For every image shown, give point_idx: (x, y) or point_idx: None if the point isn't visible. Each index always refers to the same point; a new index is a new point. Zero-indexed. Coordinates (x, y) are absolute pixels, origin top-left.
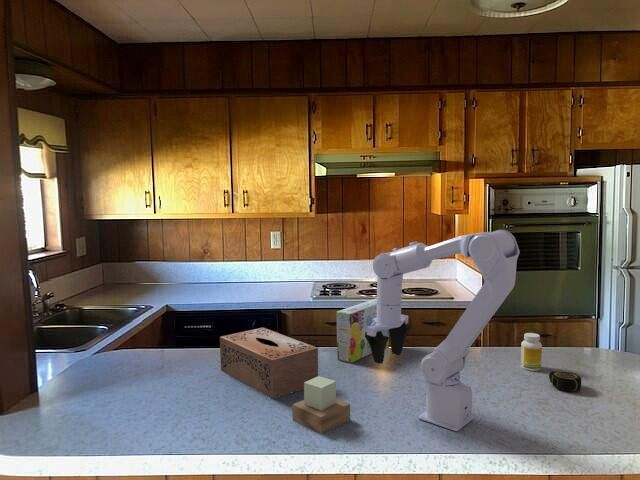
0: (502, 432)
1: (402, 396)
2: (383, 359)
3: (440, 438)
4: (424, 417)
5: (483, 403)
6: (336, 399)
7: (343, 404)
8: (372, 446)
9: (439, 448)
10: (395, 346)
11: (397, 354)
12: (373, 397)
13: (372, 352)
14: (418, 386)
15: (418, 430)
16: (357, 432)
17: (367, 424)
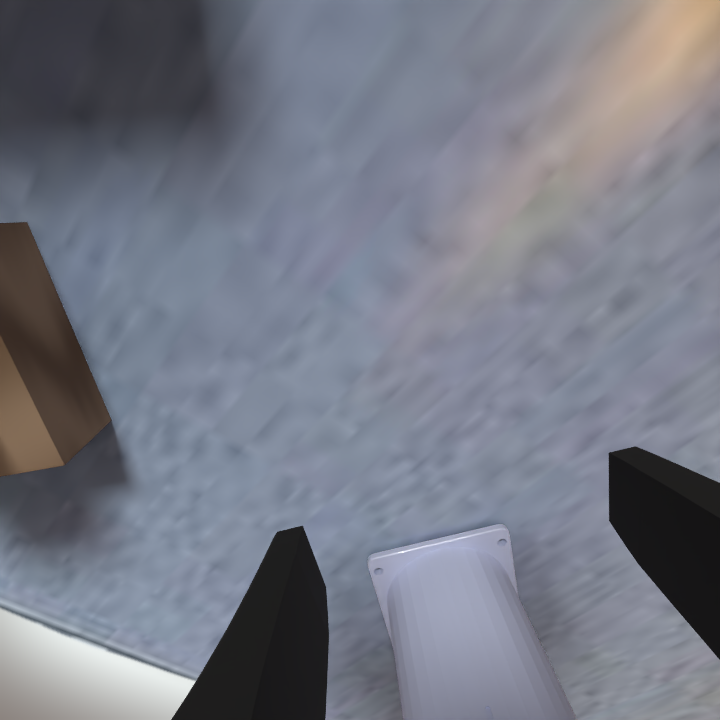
0: None
1: (492, 369)
2: (323, 639)
3: None
4: (383, 575)
5: None
6: (10, 378)
7: (23, 452)
8: (87, 606)
9: None
10: (683, 553)
11: (614, 512)
12: (365, 292)
13: (232, 633)
14: (655, 324)
15: None
16: (85, 516)
17: (161, 488)
